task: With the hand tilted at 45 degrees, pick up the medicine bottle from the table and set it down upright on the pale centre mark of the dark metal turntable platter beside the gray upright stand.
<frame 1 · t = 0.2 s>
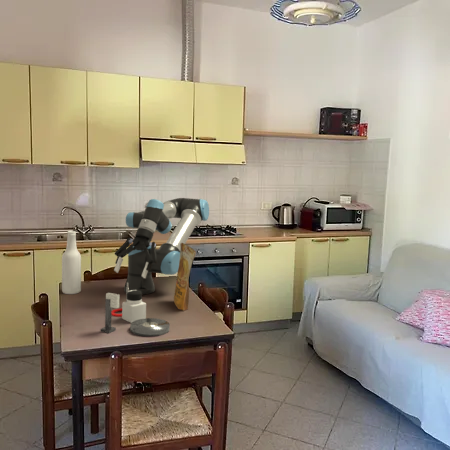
hand: (129, 274, 203), 16 cm above the table, tool tilted 35°, fingers open, 13 cm apart
medicine bottle: (134, 319, 193), on the table
alcohol: (71, 292, 229), on the table
tow hook: (121, 314, 200), on the table
turntable: (150, 329, 182), on the table
pancake mix bag: (182, 306, 214), on the table
gray upright stand: (108, 330, 178), on the table
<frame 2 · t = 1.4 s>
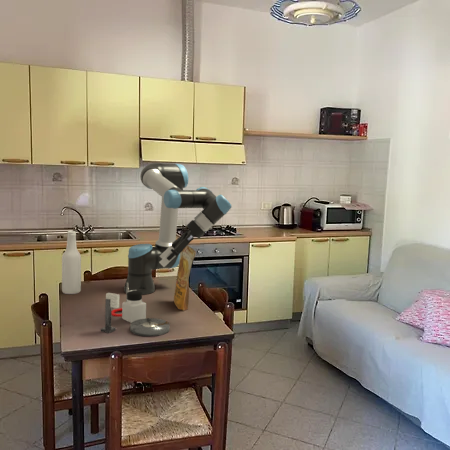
hand: (161, 261, 191), 25 cm above the table, tool tilted 45°, fingers open, 13 cm apart
nothing on the table moved.
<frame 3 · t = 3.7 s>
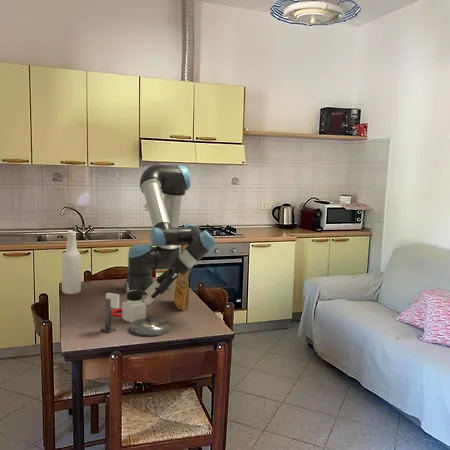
hand: (146, 298, 191), 9 cm above the table, tool tilted 45°, fingers open, 13 cm apart
nothing on the table moved.
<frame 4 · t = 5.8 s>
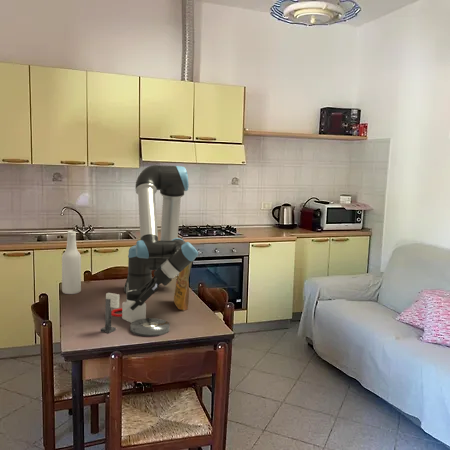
hand: (126, 310, 192), 4 cm above the table, tool tilted 45°, fingers closed on medicine bottle, 10 cm apart
medicine bottle: (133, 319, 193), on the table, touching gripper
everything else where it was.
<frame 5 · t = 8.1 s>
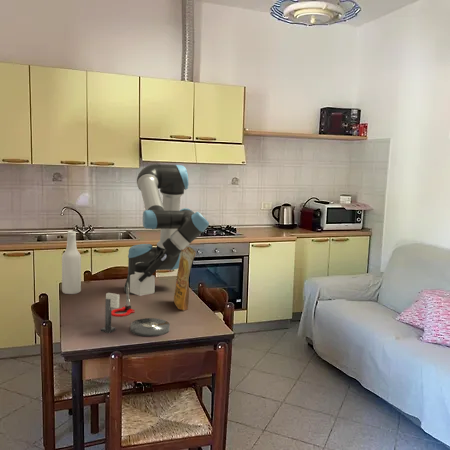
hand: (134, 282, 184), 17 cm above the table, tool tilted 45°, fingers closed on medicine bottle, 10 cm apart
medicine bottle: (142, 293, 185), point 13 cm above the table, touching gripper
everything else where it was.
when the fingers open (7 cm above the table, at t = 10.6 s): medicine bottle drops 1 cm, resting on turntable.
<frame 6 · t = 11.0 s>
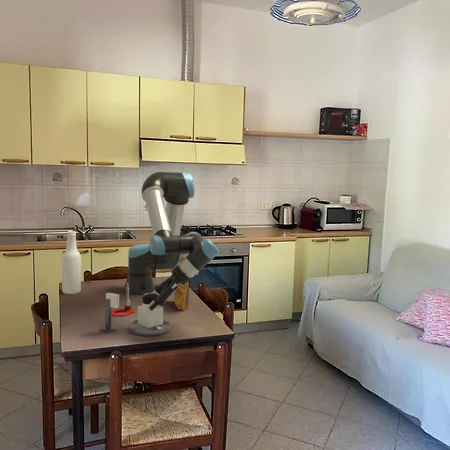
hand: (144, 309, 180), 8 cm above the table, tool tilted 45°, fingers open, 13 cm apart
medicine bottle: (150, 324, 182), point 2 cm above the table, touching turntable
everything else where it was.
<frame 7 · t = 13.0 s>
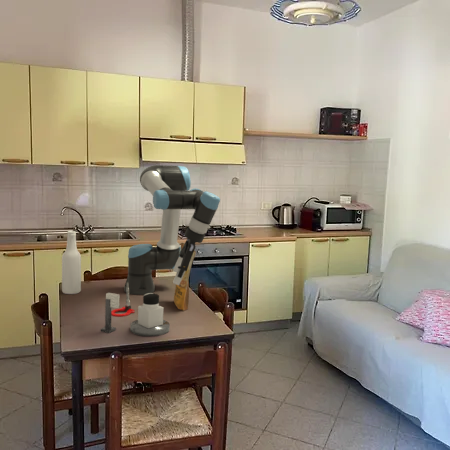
hand: (175, 277, 187), 19 cm above the table, tool tilted 20°, fingers open, 13 cm apart
nothing on the table moved.
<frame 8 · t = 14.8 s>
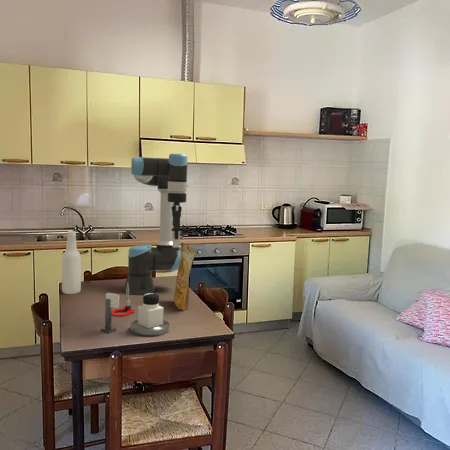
hand: (175, 244, 191), 32 cm above the table, tool pointing down, fingers open, 13 cm apart
nothing on the table moved.
at the end: medicine bottle inside the target area on the turntable (0.1 cm from its centre), point 1.8 cm above the turntable's base; medicine bottle tilted 0°; the gripper is holding nothing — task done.
